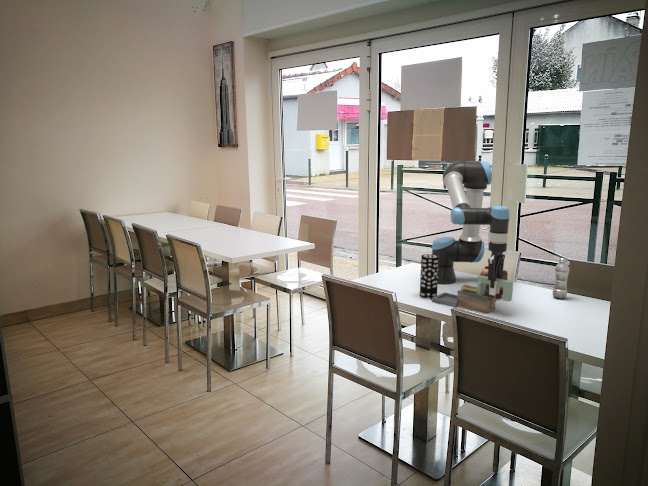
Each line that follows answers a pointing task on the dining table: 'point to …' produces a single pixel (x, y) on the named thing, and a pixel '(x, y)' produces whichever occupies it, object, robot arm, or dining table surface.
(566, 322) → the dining table surface
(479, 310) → the slot ledge
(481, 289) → the mint green arch block
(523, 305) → the dining table surface
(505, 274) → the decorative planter
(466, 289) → the brass block
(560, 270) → the plastic bottle
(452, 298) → the tray
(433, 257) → the spotted tube
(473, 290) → the yellow rock
